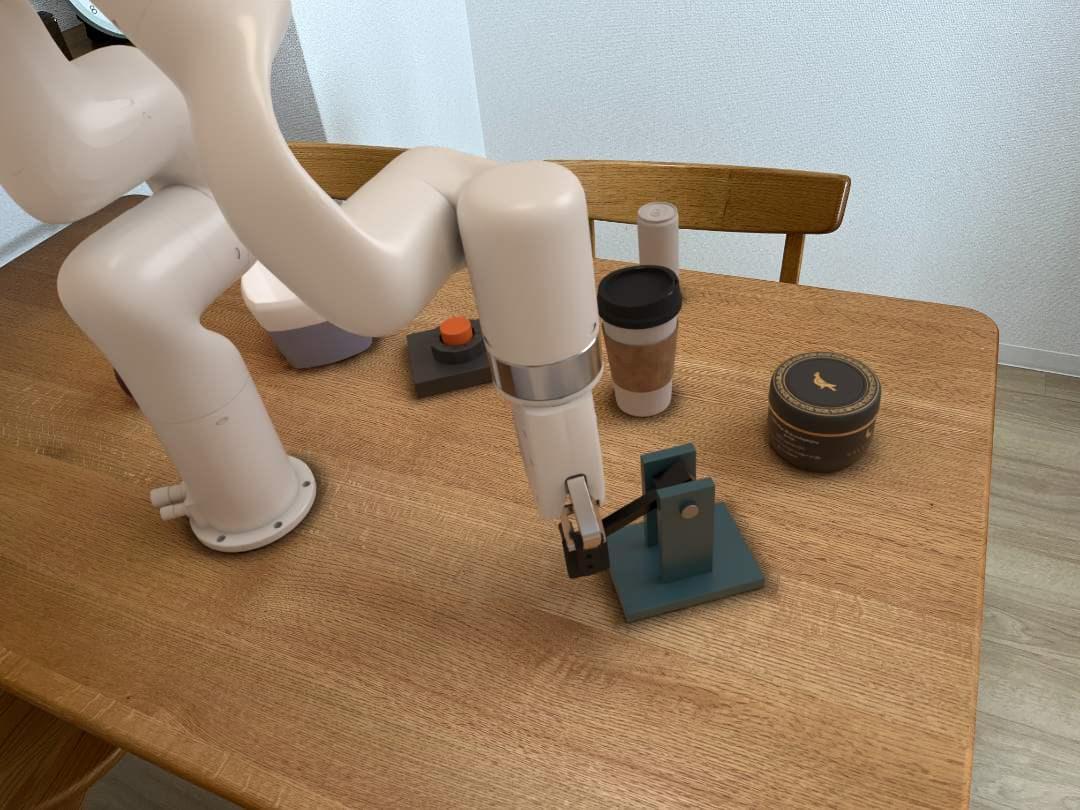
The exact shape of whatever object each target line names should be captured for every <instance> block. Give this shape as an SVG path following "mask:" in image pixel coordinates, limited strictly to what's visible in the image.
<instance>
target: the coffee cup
mask: <svg viewBox="0 0 1080 810" xmlns="http://www.w3.org/2000/svg"><path fill="white" fill-rule="evenodd" d="M680 285H681V284H680V278H679V279H678V277H677V275H676V274H675V272H674V271H673V270H671V269H669V268H667V267H664V266H658V265H640V264H639V265H632V266H625V267H621V268H619V269H616V270H614V271H611V272H610V273H608V274H607V275H605V276H604V277H603V278H602V279H601V280H600V281H599V283H598V285H597V293H596V296H597V305H598V315H599V318H600V319H601V320H602V321H601V331H602V337H603V342H604V345H605V350H606V351H605V352H606V355H607V360H608V361H607V362H608V366H609V370H610V374H611V379H612V384H613V390H614V396H615V400H616V405H617V406H618V408H619V409H620V410H621V411H622V412H624V413H625V414H627V415H630V416H633V417H638V418H639V417H641V418H644V417H645V418H646V417H652V416H655V415H659V414H660V413H662V412H663V411H665V410H666V409H667V408H668V407H669V405H670V403H671V399H672V393H673V380H674V379H673V378H674V373H675V372H674V371H675V364H676V363H675V362H676V354H677V344H678V334H679V324H680V321H679V317H678V315H679V313H680V311H681V309H682V307H683V293H682V291H681V287H680Z"/></svg>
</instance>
